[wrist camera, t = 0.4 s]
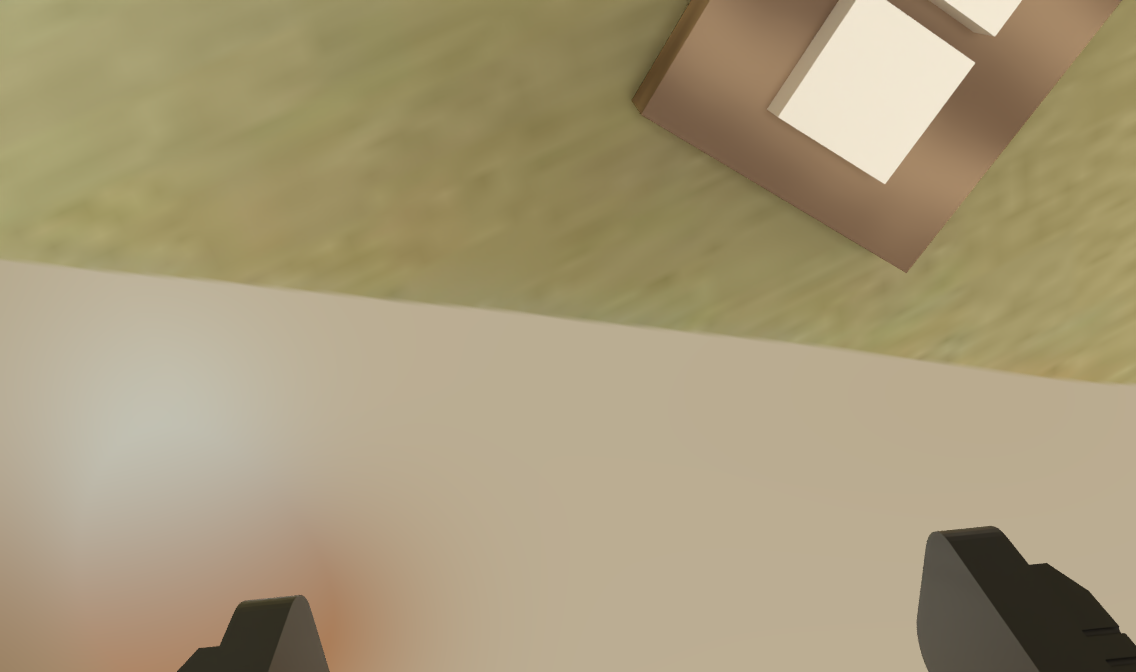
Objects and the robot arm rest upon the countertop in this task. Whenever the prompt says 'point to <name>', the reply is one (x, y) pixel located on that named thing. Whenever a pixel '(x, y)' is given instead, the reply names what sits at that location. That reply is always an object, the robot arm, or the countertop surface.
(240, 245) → the countertop surface
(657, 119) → the wooden switch plate
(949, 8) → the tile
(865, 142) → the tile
